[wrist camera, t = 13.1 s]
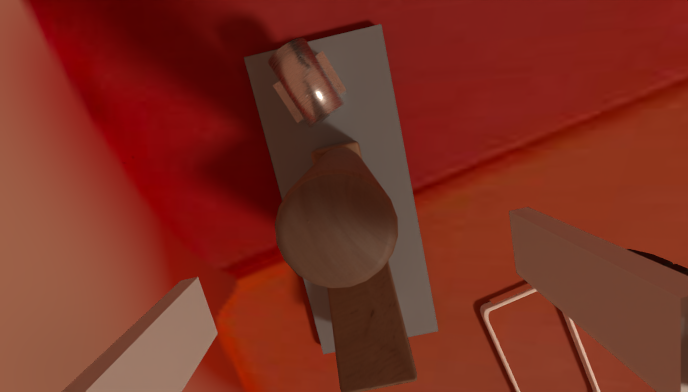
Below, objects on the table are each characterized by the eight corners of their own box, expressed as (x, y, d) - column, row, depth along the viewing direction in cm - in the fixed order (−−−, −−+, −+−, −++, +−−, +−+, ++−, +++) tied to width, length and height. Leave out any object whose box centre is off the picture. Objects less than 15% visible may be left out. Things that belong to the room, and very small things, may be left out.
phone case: (595, 394, 33) (547, 272, 30) (606, 405, 31) (557, 279, 29) (528, 421, 33) (475, 304, 31) (535, 433, 32) (481, 312, 29)
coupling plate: (247, 60, 26) (243, 57, 25) (379, 28, 25) (381, 24, 24) (324, 347, 31) (323, 354, 30) (435, 324, 30) (438, 330, 29)
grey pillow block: (271, 79, 25) (254, 65, 20) (317, 47, 25) (311, 25, 20) (306, 133, 26) (298, 133, 21) (352, 103, 25) (354, 95, 21)
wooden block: (342, 267, 28) (340, 492, 11) (313, 148, 26) (251, 180, 9) (382, 259, 28) (449, 472, 10) (357, 139, 26) (385, 150, 8)
